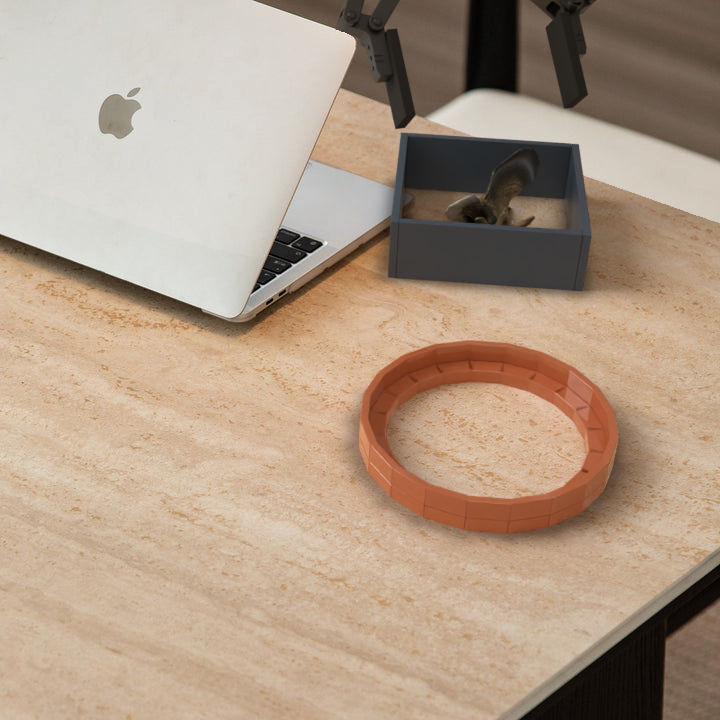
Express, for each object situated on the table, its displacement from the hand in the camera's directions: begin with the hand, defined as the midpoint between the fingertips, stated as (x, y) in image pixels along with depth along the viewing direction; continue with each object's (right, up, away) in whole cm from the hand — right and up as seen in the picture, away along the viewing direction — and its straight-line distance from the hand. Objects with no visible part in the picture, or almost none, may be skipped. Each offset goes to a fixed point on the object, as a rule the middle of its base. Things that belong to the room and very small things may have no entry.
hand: (492, 112), depth 91 cm
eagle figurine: (+1, -8, +6) cm, 10 cm away
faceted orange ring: (-2, -24, -14) cm, 28 cm away
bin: (0, -9, +6) cm, 11 cm away
